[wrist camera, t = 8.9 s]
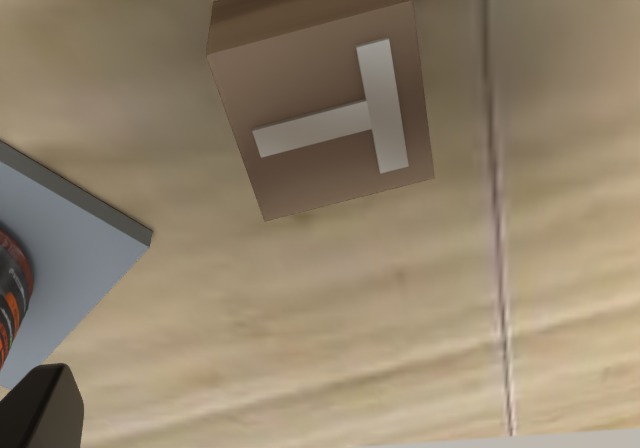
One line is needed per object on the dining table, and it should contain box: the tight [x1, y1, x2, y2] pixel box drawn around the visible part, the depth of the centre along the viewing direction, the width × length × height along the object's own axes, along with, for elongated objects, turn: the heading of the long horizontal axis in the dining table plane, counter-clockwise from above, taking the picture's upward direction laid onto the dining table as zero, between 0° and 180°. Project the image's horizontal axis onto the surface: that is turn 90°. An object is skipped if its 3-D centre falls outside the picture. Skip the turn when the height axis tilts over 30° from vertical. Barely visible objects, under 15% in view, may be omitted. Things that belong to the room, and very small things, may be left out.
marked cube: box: [206, 0, 435, 221], centre depth 17 cm, size 5×5×5 cm
